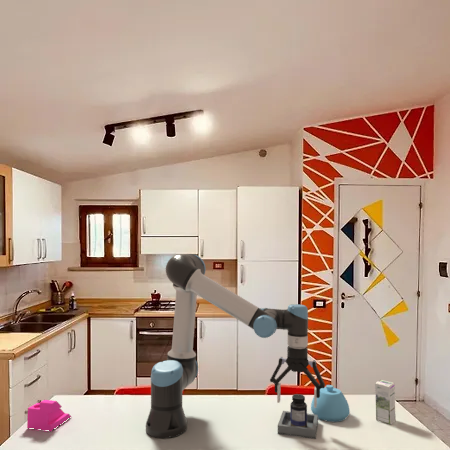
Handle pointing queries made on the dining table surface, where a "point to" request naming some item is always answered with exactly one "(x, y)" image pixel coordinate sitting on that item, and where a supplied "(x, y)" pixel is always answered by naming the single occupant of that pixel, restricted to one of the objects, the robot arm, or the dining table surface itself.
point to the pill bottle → (298, 411)
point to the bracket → (46, 415)
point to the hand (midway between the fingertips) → (296, 403)
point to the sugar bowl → (331, 405)
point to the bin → (306, 432)
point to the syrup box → (385, 401)
